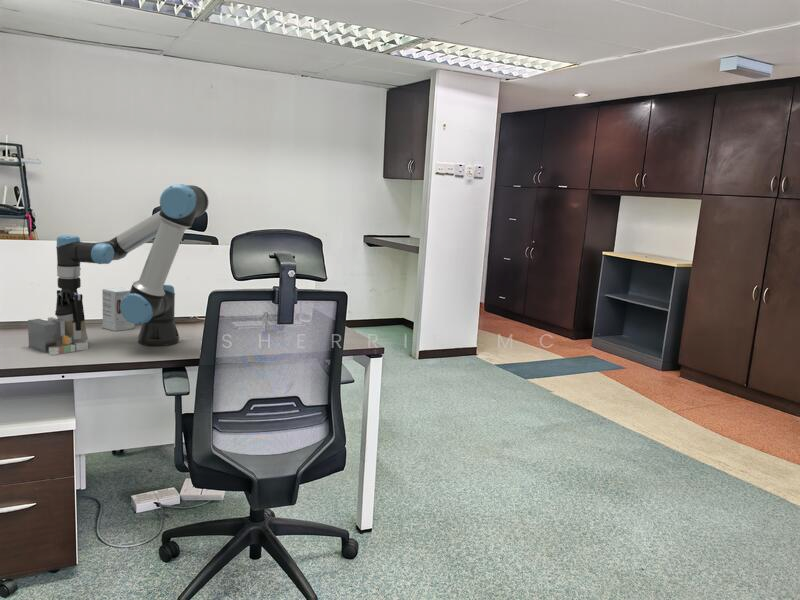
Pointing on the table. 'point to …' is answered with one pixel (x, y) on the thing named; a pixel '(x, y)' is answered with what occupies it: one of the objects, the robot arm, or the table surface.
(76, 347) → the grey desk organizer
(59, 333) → the light grey slab
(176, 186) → the robot arm
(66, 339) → the orange stepped block
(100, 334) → the table surface
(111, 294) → the supplement box
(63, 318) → the coffee cup
